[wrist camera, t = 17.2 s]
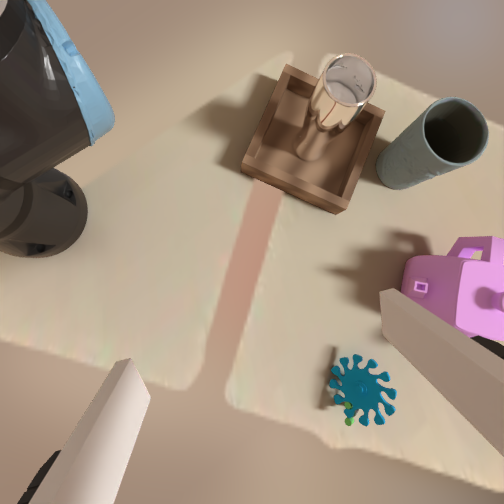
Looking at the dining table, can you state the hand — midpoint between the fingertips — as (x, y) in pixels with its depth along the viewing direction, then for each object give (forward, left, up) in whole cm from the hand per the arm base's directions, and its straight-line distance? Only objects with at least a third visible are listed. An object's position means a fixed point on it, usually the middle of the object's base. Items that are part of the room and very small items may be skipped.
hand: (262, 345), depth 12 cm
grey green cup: (+18, +33, -29) cm, 47 cm away
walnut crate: (+1, +29, -29) cm, 41 cm away
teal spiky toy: (+24, -7, -29) cm, 38 cm away
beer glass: (+1, +29, -28) cm, 40 cm away
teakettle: (+33, +13, -29) cm, 46 cm away
